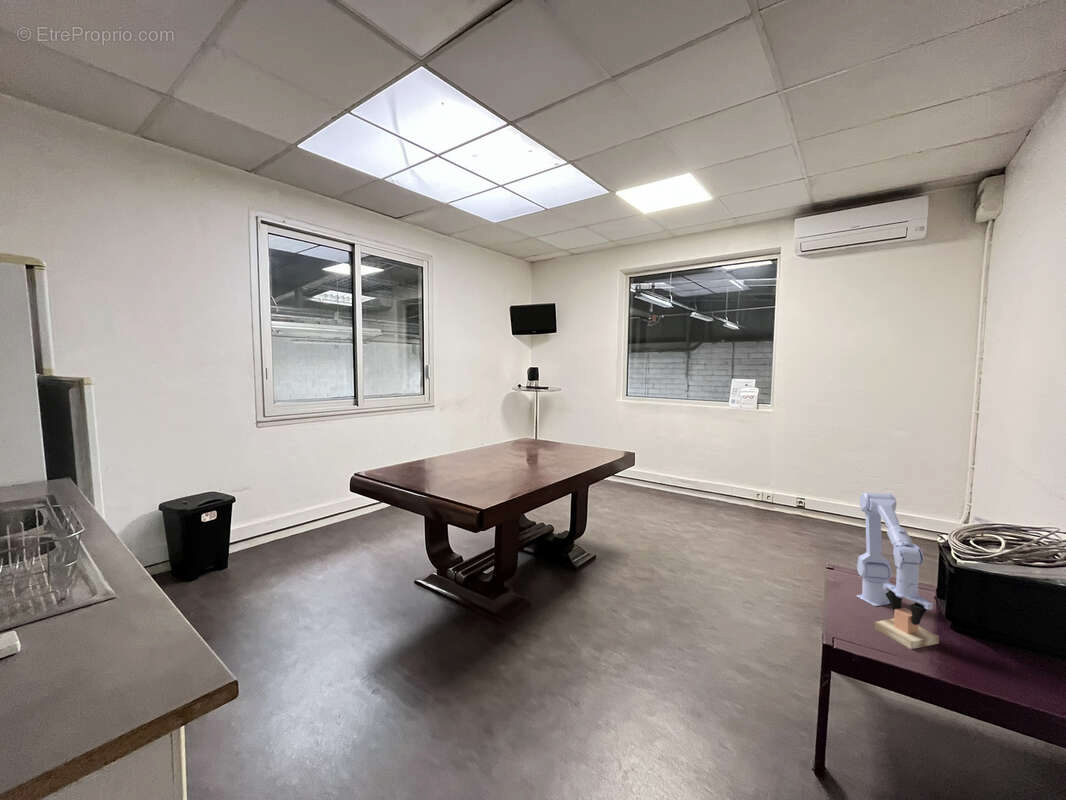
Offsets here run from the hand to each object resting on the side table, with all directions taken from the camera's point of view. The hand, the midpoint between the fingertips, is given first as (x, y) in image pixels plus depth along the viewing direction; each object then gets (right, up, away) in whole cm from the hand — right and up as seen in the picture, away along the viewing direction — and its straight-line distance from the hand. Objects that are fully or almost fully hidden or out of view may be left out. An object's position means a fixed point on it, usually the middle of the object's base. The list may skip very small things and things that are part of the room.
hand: (906, 618), depth 149 cm
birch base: (0, -7, 0) cm, 7 cm away
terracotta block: (0, -4, 0) cm, 4 cm away
